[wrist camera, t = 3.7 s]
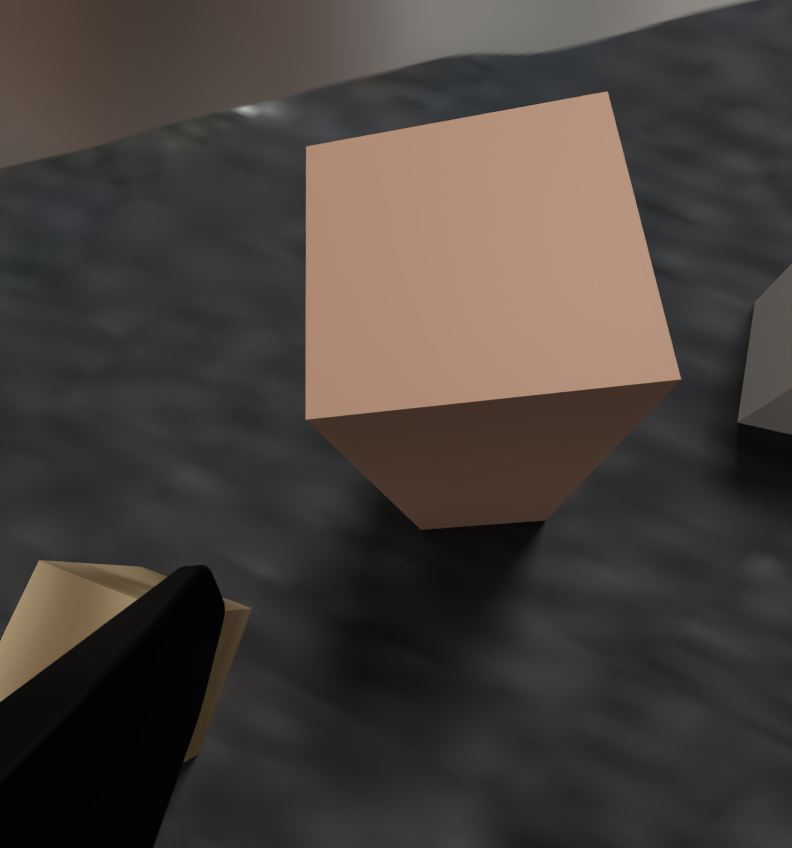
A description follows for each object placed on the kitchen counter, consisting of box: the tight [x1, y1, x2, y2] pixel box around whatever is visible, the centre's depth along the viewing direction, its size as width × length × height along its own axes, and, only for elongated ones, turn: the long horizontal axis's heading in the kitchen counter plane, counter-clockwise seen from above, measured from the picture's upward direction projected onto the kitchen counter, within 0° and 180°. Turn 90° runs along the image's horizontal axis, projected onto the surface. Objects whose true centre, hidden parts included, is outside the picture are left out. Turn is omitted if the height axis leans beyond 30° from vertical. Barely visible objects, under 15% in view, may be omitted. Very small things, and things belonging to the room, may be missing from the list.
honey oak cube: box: [0, 560, 252, 763], centre depth 16 cm, size 5×5×5 cm
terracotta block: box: [306, 92, 681, 530], centre depth 13 cm, size 4×4×13 cm
